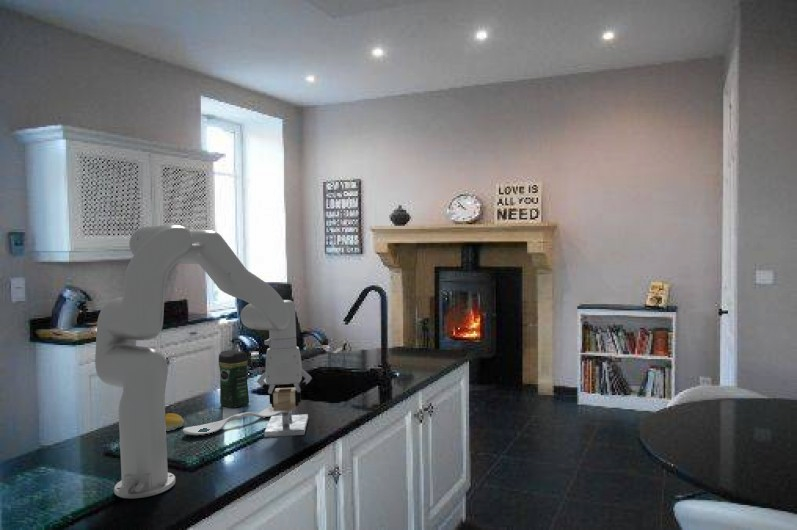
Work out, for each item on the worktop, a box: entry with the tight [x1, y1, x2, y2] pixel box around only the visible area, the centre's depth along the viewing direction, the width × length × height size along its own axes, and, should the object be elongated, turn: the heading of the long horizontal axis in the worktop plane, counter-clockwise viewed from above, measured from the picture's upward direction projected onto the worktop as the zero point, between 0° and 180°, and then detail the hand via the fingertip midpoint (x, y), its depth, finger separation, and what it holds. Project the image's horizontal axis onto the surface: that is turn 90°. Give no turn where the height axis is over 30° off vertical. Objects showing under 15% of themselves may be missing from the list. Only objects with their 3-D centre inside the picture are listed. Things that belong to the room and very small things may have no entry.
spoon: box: [182, 404, 285, 436], centre depth 176 cm, size 9×32×4 cm, turn 133°
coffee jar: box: [218, 349, 250, 408], centre depth 198 cm, size 10×8×19 cm
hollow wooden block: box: [273, 386, 297, 411], centre depth 168 cm, size 6×6×5 cm
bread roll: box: [165, 412, 185, 429], centre depth 175 cm, size 8×9×4 cm
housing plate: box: [264, 410, 309, 438], centre depth 172 cm, size 15×11×6 cm
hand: (285, 405), depth 168 cm, fingers closed on hollow wooden block, 6 cm apart
